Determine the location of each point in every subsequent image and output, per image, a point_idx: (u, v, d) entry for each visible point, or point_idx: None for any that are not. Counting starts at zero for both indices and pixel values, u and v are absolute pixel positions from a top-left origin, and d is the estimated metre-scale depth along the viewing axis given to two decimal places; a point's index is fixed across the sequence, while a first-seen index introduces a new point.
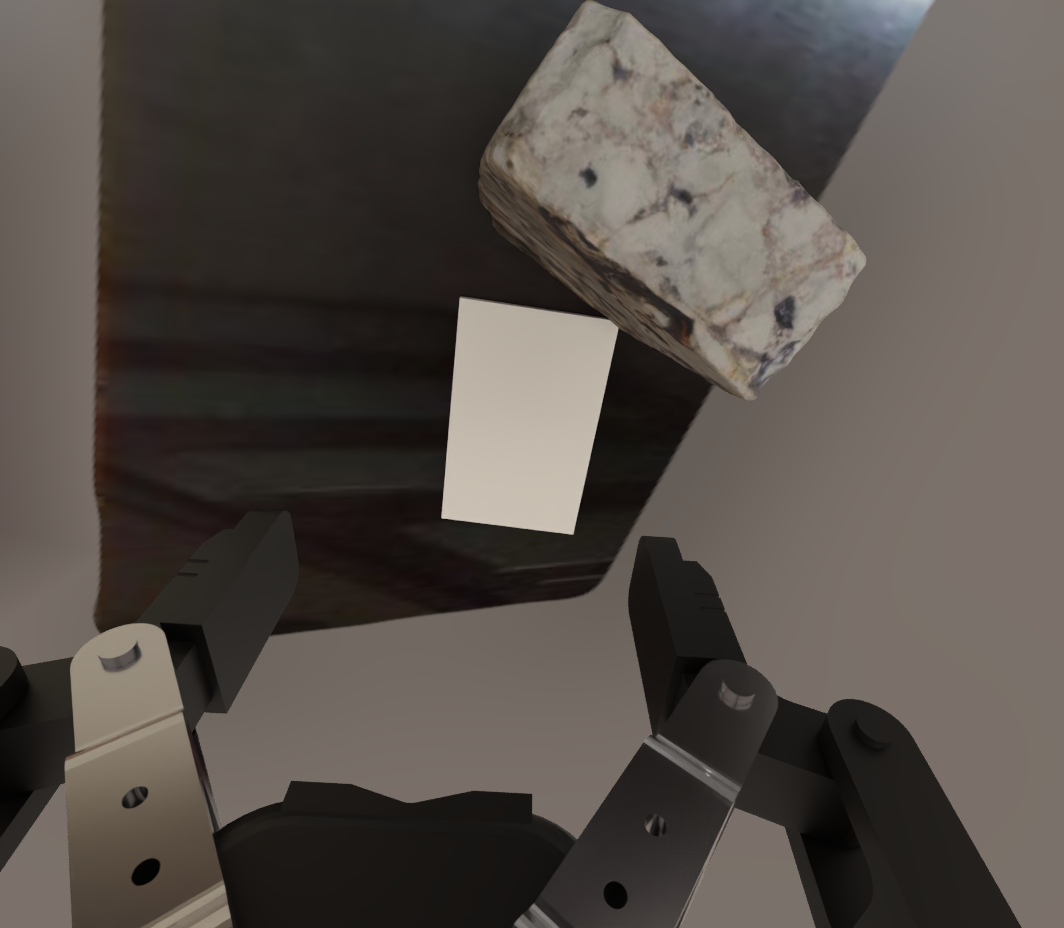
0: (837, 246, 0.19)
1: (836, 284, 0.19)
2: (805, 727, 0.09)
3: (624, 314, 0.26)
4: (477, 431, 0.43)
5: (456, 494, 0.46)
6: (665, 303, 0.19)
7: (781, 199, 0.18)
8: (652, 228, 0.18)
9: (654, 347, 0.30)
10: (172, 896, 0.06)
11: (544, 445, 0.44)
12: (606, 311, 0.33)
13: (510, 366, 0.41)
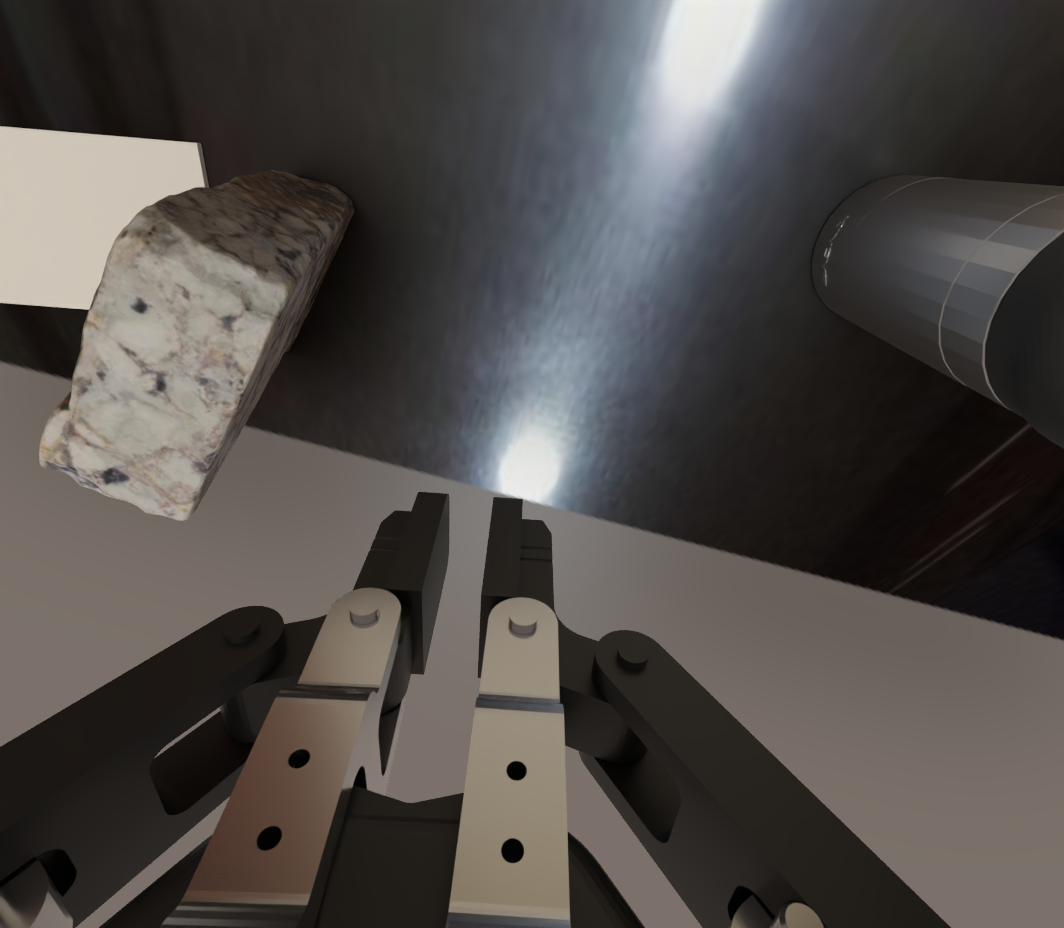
0: (179, 499, 0.25)
1: (154, 505, 0.25)
2: (586, 656, 0.10)
3: None
4: (48, 169, 0.36)
5: None
6: (72, 384, 0.22)
7: (192, 455, 0.24)
8: (125, 364, 0.21)
9: None
10: (272, 880, 0.06)
11: (67, 254, 0.38)
12: None
13: (142, 207, 0.37)
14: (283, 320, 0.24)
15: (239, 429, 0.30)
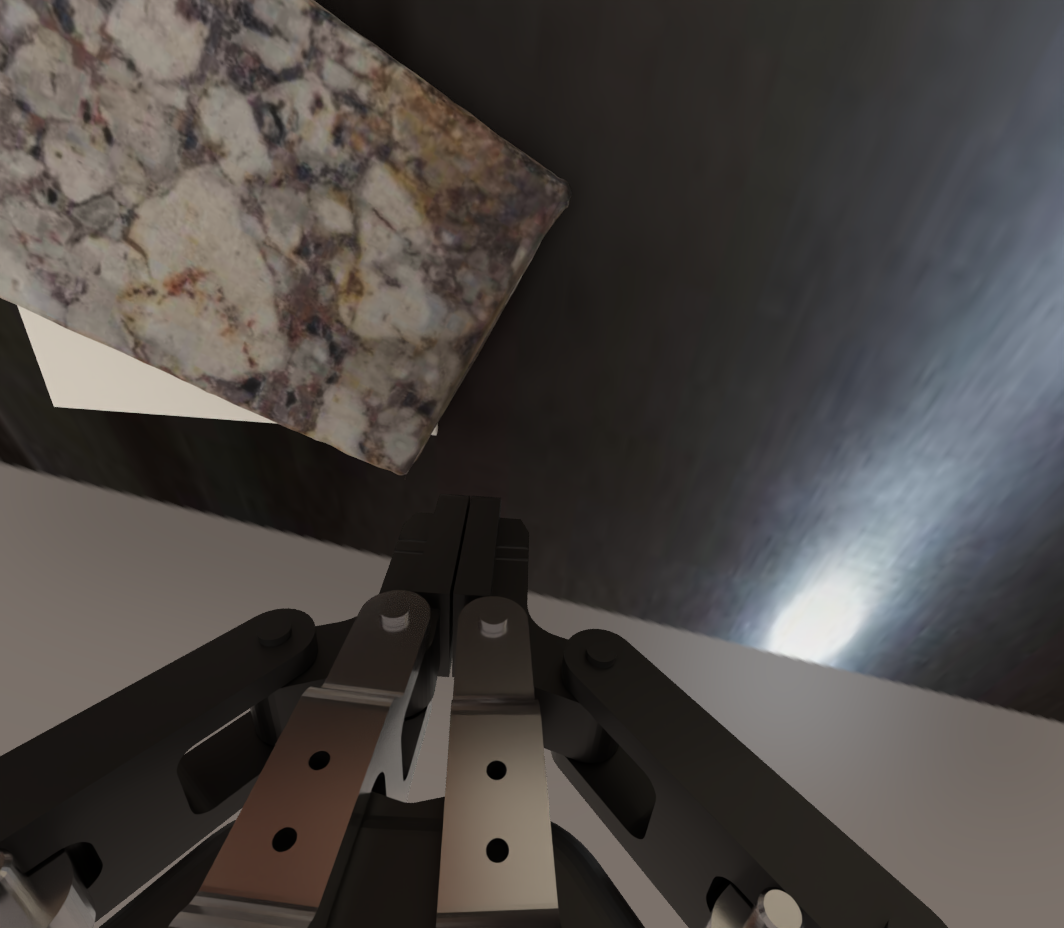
0: None
1: None
2: (556, 655, 0.10)
3: None
4: None
5: None
6: None
7: None
8: None
9: None
10: (284, 881, 0.06)
11: None
12: None
13: None
14: None
15: (34, 254, 0.18)
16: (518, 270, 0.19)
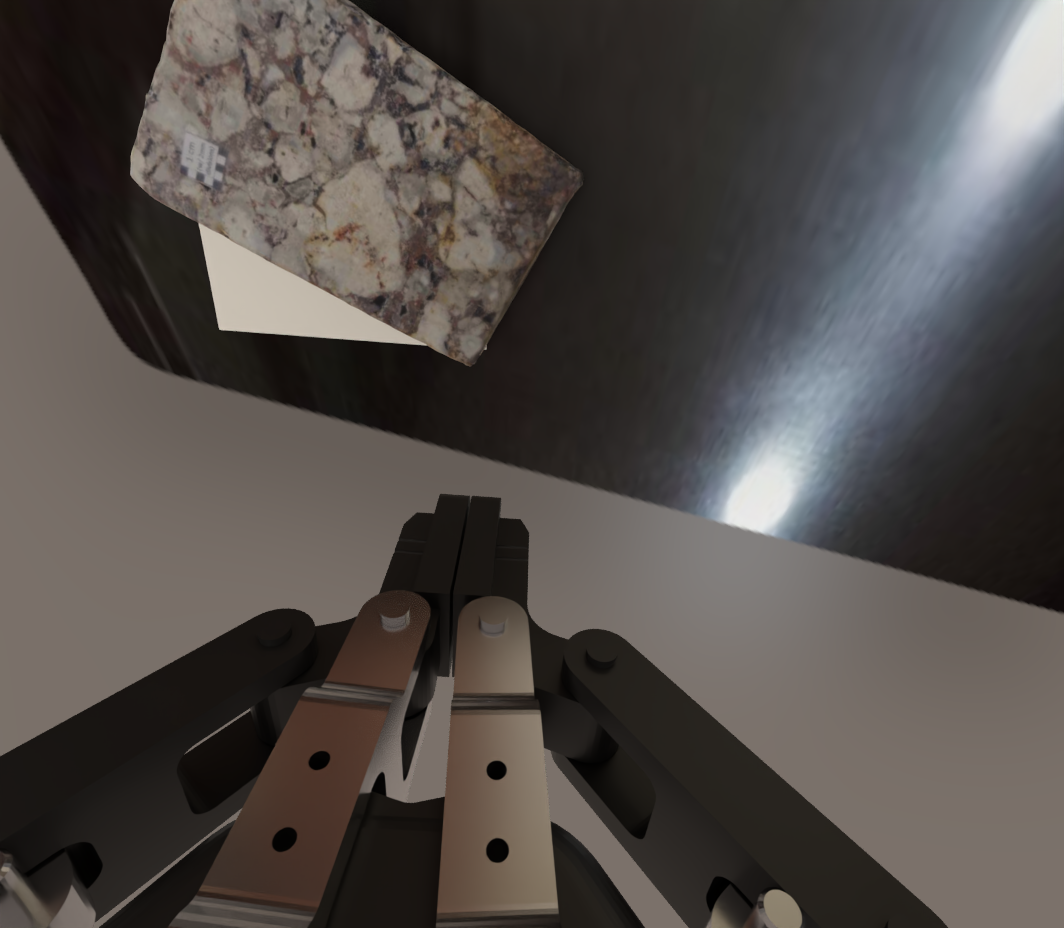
0: None
1: None
2: (556, 655, 0.10)
3: None
4: None
5: None
6: None
7: None
8: None
9: None
10: (283, 881, 0.06)
11: None
12: None
13: None
14: (256, 4, 0.25)
15: (259, 213, 0.30)
16: (550, 225, 0.31)
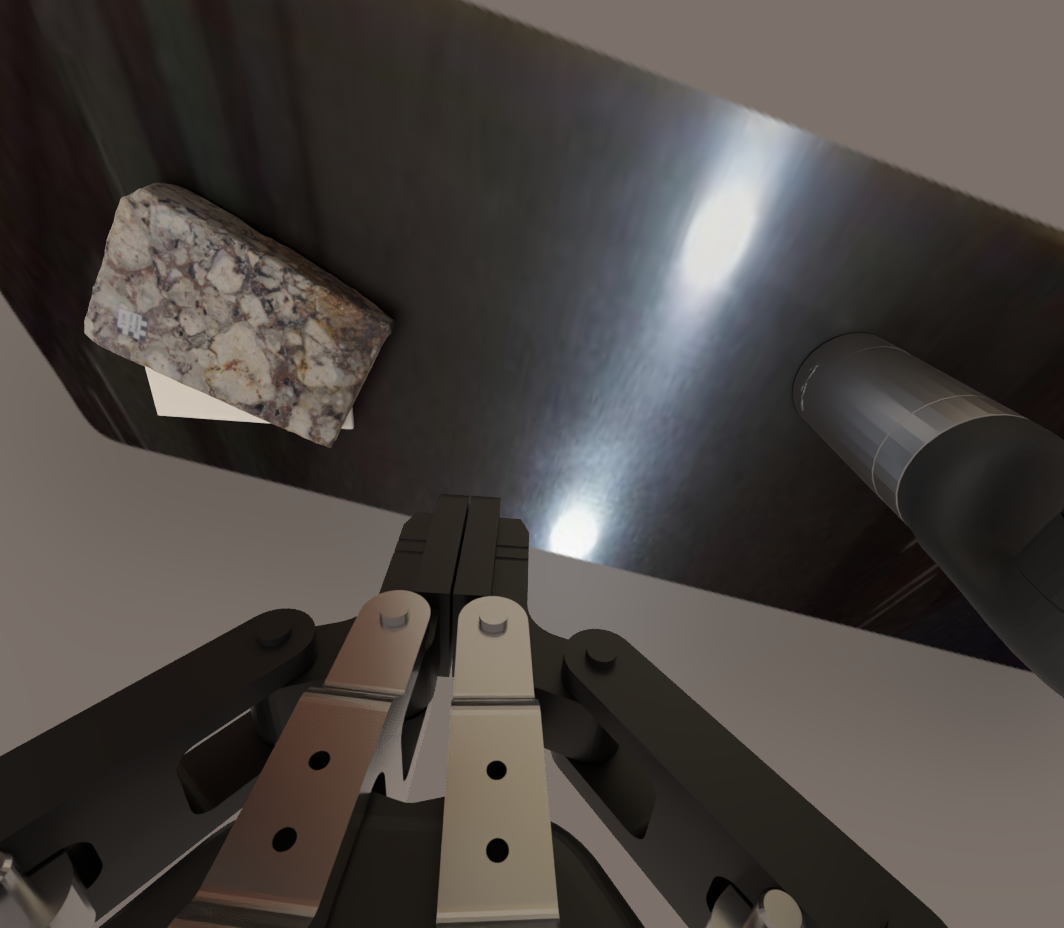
0: None
1: None
2: (556, 655, 0.10)
3: None
4: None
5: None
6: None
7: None
8: None
9: None
10: (284, 881, 0.06)
11: None
12: None
13: None
14: (161, 235, 0.40)
15: (171, 354, 0.44)
16: (373, 358, 0.46)
